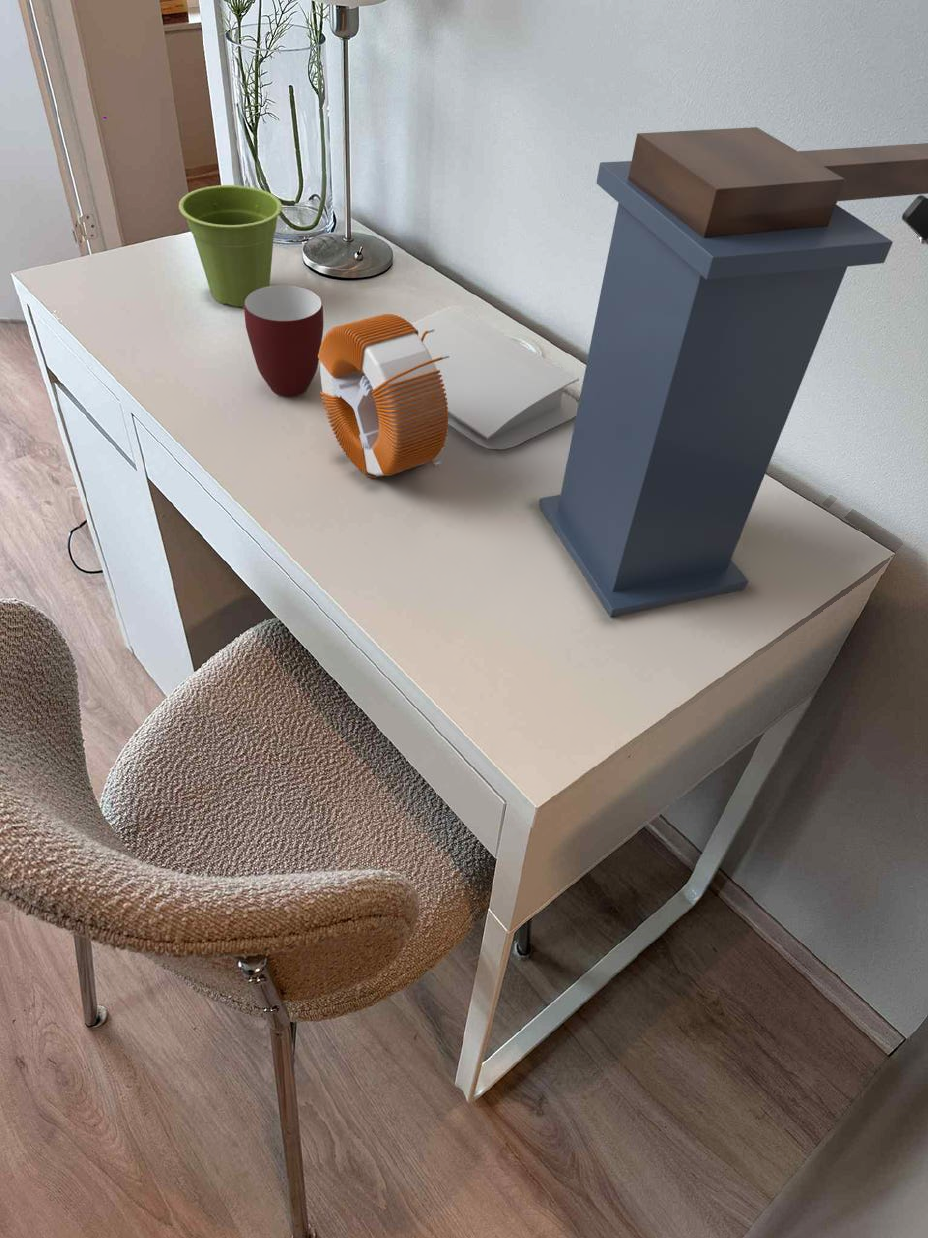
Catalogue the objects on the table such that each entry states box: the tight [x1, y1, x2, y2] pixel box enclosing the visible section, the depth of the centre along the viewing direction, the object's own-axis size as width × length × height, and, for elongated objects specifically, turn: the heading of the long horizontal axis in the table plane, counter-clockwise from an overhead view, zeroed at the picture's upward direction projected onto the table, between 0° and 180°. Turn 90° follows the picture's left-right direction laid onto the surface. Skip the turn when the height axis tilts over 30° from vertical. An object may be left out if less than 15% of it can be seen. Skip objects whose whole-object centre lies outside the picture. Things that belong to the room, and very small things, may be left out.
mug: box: [243, 284, 324, 398], centre depth 96 cm, size 11×8×10 cm
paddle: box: [628, 126, 928, 238], centre depth 62 cm, size 24×10×3 cm, turn 112°
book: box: [410, 304, 580, 451], centre depth 101 cm, size 15×23×4 cm, turn 43°
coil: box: [318, 313, 449, 478], centre depth 86 cm, size 7×15×15 cm, turn 36°
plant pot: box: [178, 184, 283, 308], centre depth 109 cm, size 12×12×11 cm
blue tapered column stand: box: [538, 160, 894, 618], centre depth 73 cm, size 14×16×32 cm
